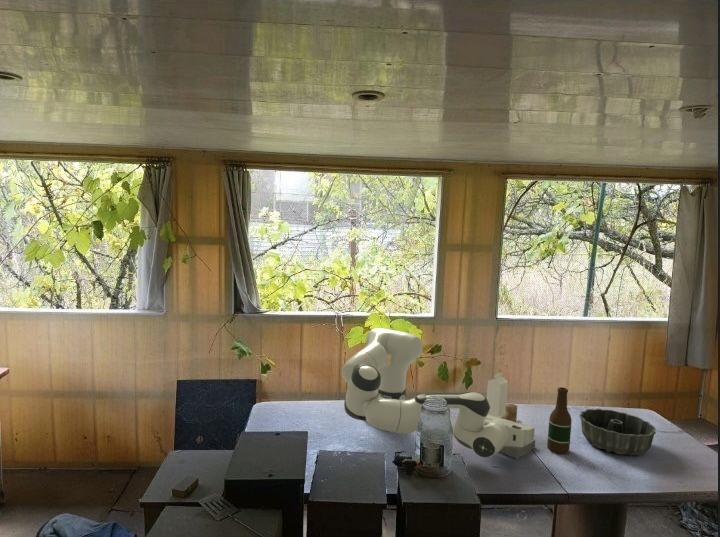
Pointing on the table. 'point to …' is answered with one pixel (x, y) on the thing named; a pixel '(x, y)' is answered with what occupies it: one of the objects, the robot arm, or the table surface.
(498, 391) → the milk
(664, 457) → the table surface
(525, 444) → the socket block
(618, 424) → the bundt pan
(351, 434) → the table surface
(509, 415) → the dowel
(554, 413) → the beer bottle
